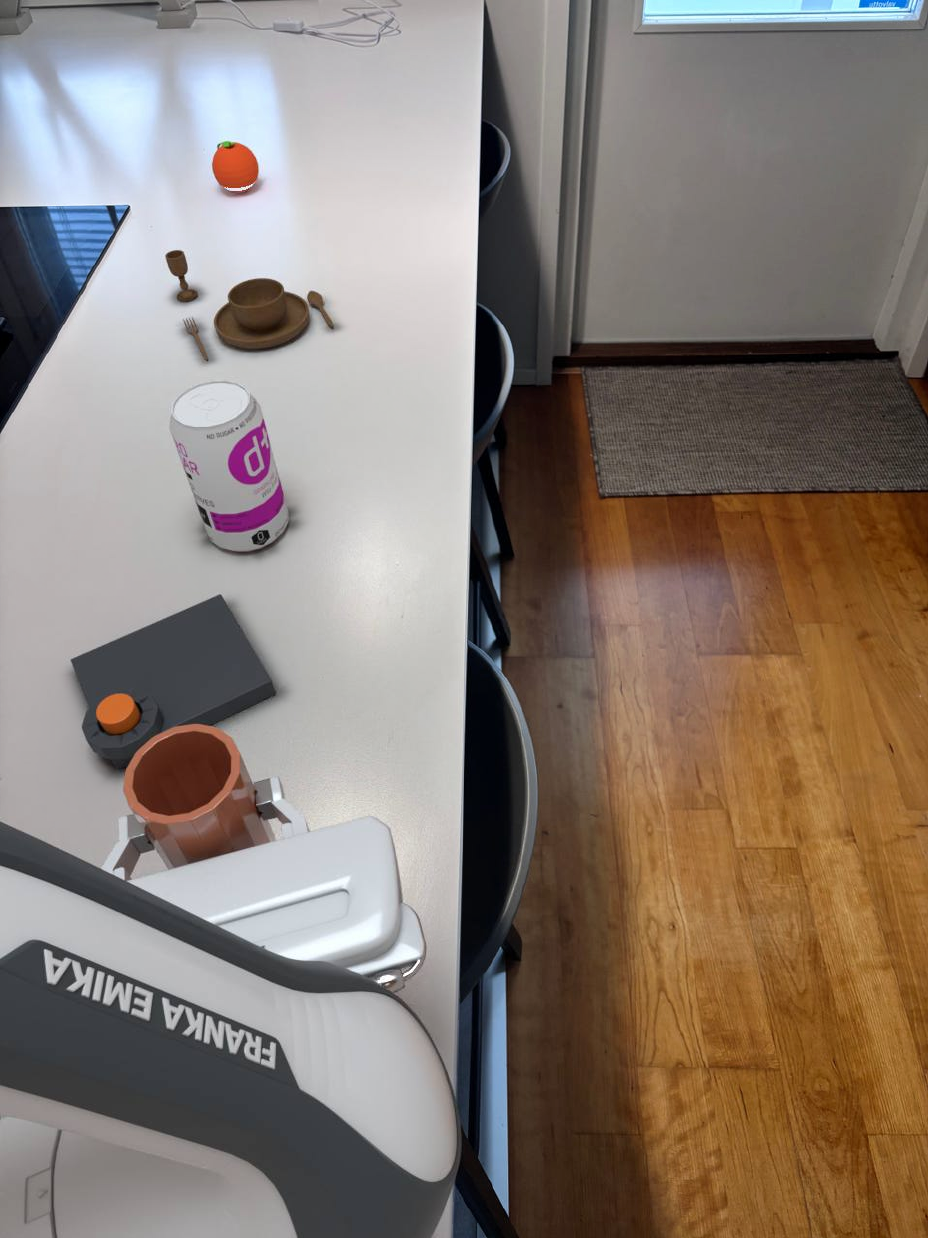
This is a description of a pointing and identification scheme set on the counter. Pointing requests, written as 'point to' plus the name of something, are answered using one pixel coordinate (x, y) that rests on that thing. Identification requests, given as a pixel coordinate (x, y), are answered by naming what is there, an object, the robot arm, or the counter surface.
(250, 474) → the supplement can
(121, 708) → the button
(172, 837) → the cup
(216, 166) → the clementine
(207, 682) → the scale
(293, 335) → the place setting
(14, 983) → the robot arm
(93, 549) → the counter surface
